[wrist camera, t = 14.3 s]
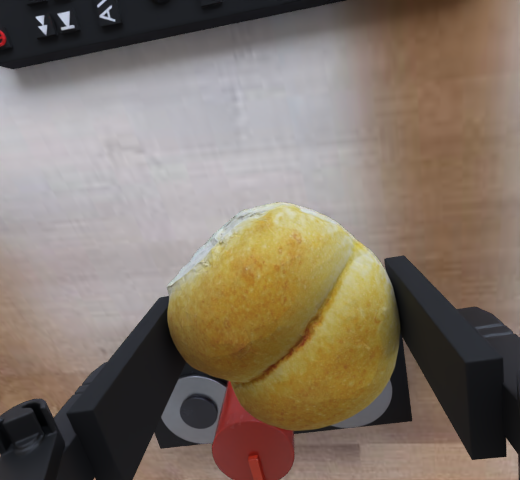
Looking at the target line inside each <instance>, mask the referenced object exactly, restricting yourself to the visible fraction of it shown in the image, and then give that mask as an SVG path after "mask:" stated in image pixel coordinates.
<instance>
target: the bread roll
mask: <svg viewBox="0 0 520 480" xmlns="http://www.w3.org/2000/svg"><path fill="white" fill-rule="evenodd" d="M167 290H168V292H169V304H168V311H167V322H168V327H169V331H170V335H171V337H172V340H173V343H174V344H175V346H176V348H177V350H178V351H179V353H180V354H181V356H182V357H183V358H184V360H185V361H186V362H187V363H188V364H189V365H190V366H191V367H193V368H195V369H197V370H199V371H201V372H204V373H206V374H208V375H211V376H213V377H217V378H221V379H225V380H228V381H230V382H231V385H232V388H233V390H234V392H235V395H236V397H237V399H238V401H239V403H240V405H241V406H242V407H243V408H244V409H245V410H246V411H247V412H248V413H250V415H252V416H253V417H255V418H256V419H258V420H260V421H262V422H264V423H266V424H268V425H271V426H275V427H278V428H281V429H286V430H293V431H301V430H313V429H319V428H323V427H326V426H330V425H333V424H337V423H339V422H341V421H344V420H346V419H348V418H350V417H352V416H354V415H355V414H357V413H359V412H360V411H362V410H363V409H365V408H366V407H367V406H369V405H370V404H371V403H372V402H373V401H374V400H375V399H376V398H377V397H378V396H379V395H380V394H381V393H382V391H383V390H384V388H385V387H386V385H387V383H388V381H389V380H390V377H391V375H392V373H393V370H394V368H395V364H396V359H397V354H398V348H399V337H400V330H401V329H400V317H399V311H398V306H397V302H396V297H395V293H394V289H393V286H392V283H391V281H390V279H389V277H388V274H387V272H386V270H385V269H384V267H383V266H382V264H381V263H380V261H379V260H378V258H377V257H376V256H375V255H374V254H373V253H372V251H371V250H369V249H368V248H367V247H366V246H364V245H363V244H362V243H360V242H359V241H357V240H356V239H355V237H354V236H353V235H351V234H350V233H349V232H348V231H346V230H345V229H344V228H343V227H342V226H341V225H340V224H339V223H337V222H336V221H334V220H333V219H331V218H329V217H327V216H325V215H323V214H320V213H318V212H316V211H314V210H311V209H309V208H305V207H301V206H297V205H294V204H290V203H283V202H276V203H272V204H267V205H262V206H258V207H255V208H252V209H245V210H242V211H241V212H239V213H238V214H237V215H236V216H234V217H233V218H232V219H231V220H230V221H228V222H227V223H226V224H225V225H224V226H223V227H222V228H220V229H219V230H218V231H217V232H216V233H214V234H213V236H212V237H210V239H209V240H208V241H207V243H206V244H205V245H204V246H202V247H201V248H199V249H198V251H197V252H196V253H195V254H194V255H193V257H192V259H191V261H190V262H189V263H188V264H187V265H185V266H184V267H183V268H181V270H180V272H179V274H178V275H177V276H176V277H175V278H174V279H173V280H172V281H171V282H170V283H169V285H168V286H167Z"/></svg>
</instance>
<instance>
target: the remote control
mask: <svg viewBox="0 0 520 480" xmlns="http://www.w3.org/2000/svg"><path fill="white" fill-rule="evenodd" d="M340 1H345V0H0V66H2V67H6V68H11V69H16V68H21V67H26V66H30V65H35V64H40V63H45V62H50V61H55V60H59V59H64V58H69V57H74V56H79V55H84V54H88V53H93V52H98V51H103V50H108V49H113V48H118V47H122V46H127V45H132V44H137V43H142V42H147V41H151V40H156V39H161V38H166V37H171V36H176V35H180V34H185V33H190V32H195V31H200V30H205V29H209V28H214V27H219V26H224V25H229V24H234V23H238V22H243V21H248V20H253V19H258V18H263V17H267V16H272V15H277V14H282V13H287V12H292V11H296V10H301V9H306V8H311V7H316V6H321V5H325V4H330V3H335V2H340Z"/></svg>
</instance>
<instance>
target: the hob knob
mask: <svg viewBox="0 0 520 480" xmlns="http://www.w3.org/2000/svg"><path fill="white" fill-rule="evenodd" d="M212 454H213V458H214V461H215V463H216V465H217V466H218V468H219V469H220V470H221V471H222V472H223V473H224V474H225V475H227V476H228V477H230V478H231V479H233V480H279V479H281V478H282V477H284V476H285V475H286V474H287V473H288V472H289V470H290V469H291V467H292V465H293V462H294V431H293V430H286V429H281V428H278V427H275V426H271V425H268V424H266V423H264V422H262V421H260V420H258V419H256V418H255V417H253V416H252V415H250V413H248V412H247V411H246V410H245V409H244V408H243V407H242V406H241V405H240V403H239V401H238V399H237V397H236V395H235V392H234V390H233V388H232V385H231V382H230V381H228V383H227V387H226V391H225V395H224V399H223V403H222V407H221V411H220V415H219V420H218V424H217V428H216V432H215V436H214V440H213V444H212Z"/></svg>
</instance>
